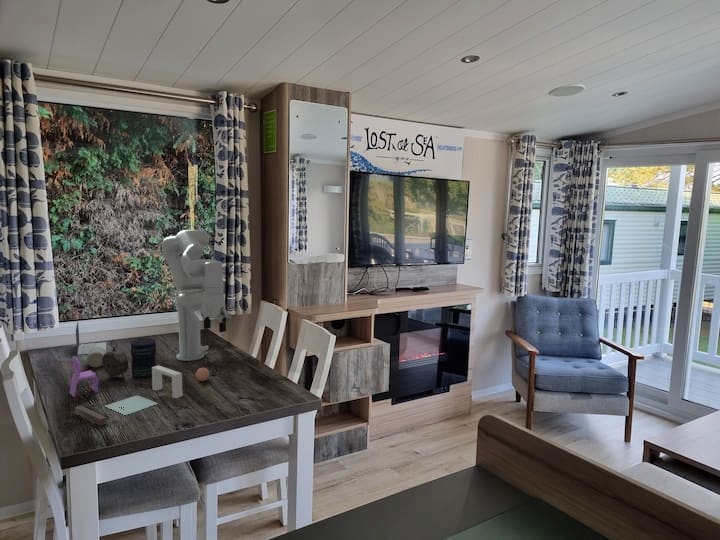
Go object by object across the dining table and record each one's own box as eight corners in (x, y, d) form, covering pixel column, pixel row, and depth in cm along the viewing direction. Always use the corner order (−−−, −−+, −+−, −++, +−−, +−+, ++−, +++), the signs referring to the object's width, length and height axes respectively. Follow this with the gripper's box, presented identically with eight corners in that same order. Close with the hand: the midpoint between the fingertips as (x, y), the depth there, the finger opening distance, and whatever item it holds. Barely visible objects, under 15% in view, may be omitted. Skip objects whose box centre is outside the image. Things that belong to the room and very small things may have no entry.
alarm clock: (129, 378, 211) (128, 340, 209) (118, 382, 207) (117, 343, 204) (111, 373, 216) (109, 337, 214) (100, 377, 211) (98, 340, 209)
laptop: (106, 353, 245) (105, 327, 243) (76, 356, 239) (75, 329, 238) (106, 343, 261) (105, 318, 259) (78, 346, 255) (77, 320, 254)
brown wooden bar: (81, 412, 177) (80, 405, 177) (106, 424, 168) (106, 417, 168) (75, 414, 175) (74, 407, 175) (100, 426, 167) (100, 419, 166)
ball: (203, 377, 215) (203, 365, 214) (212, 380, 212) (212, 367, 211) (192, 381, 210) (192, 368, 209) (201, 384, 207) (201, 371, 206)
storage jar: (151, 370, 222) (150, 337, 220) (160, 376, 215) (159, 342, 213) (128, 375, 215) (126, 341, 213) (137, 381, 208) (135, 346, 206)
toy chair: (99, 393, 195) (98, 355, 193) (74, 399, 189) (72, 360, 187) (92, 387, 201) (90, 350, 199) (68, 392, 195) (66, 355, 192)
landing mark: (137, 395, 193) (137, 395, 193) (158, 403, 186) (158, 403, 186) (104, 406, 183) (104, 406, 182) (125, 415, 175) (125, 415, 175)
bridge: (159, 387, 202) (158, 365, 201) (182, 396, 194) (181, 373, 193) (152, 389, 199) (151, 367, 198) (175, 398, 192) (175, 375, 190)
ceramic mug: (86, 369, 221) (86, 352, 220) (88, 363, 228) (88, 346, 227) (113, 367, 225) (113, 350, 224) (114, 361, 233) (114, 345, 232)
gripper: (193, 289, 216) (194, 329, 218) (220, 293, 206) (221, 334, 208) (207, 287, 222) (208, 325, 224) (234, 291, 212) (235, 331, 214)
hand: (214, 330), depth 216 cm, fingers open, 9 cm apart
